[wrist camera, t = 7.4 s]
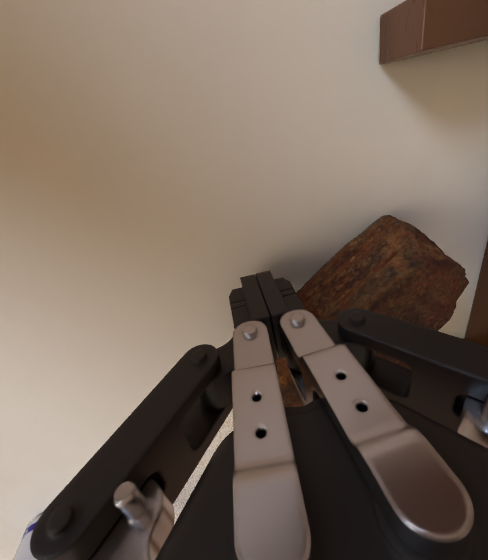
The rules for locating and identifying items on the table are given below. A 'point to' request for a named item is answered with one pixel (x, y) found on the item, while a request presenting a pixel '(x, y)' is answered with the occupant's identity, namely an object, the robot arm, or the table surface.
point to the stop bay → (426, 39)
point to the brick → (382, 284)
